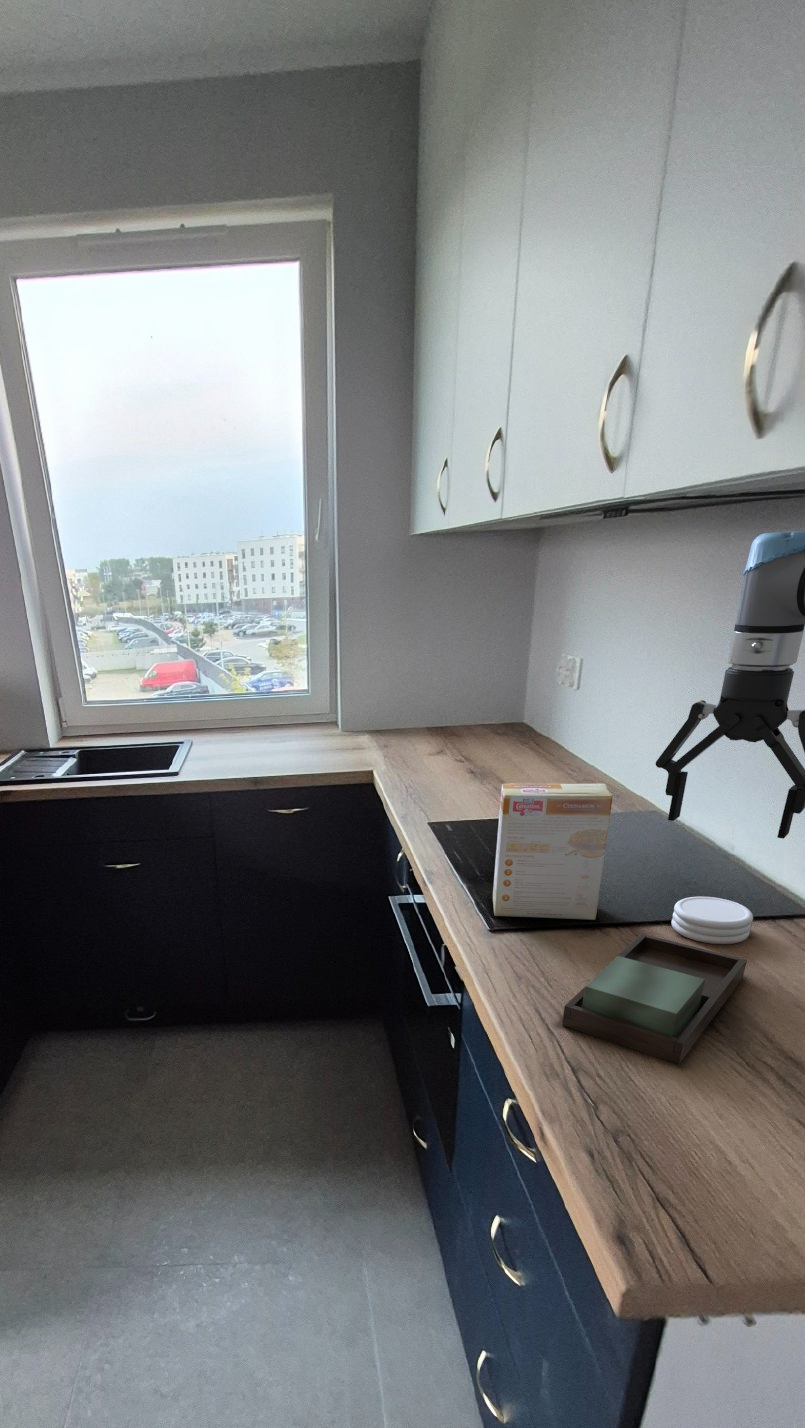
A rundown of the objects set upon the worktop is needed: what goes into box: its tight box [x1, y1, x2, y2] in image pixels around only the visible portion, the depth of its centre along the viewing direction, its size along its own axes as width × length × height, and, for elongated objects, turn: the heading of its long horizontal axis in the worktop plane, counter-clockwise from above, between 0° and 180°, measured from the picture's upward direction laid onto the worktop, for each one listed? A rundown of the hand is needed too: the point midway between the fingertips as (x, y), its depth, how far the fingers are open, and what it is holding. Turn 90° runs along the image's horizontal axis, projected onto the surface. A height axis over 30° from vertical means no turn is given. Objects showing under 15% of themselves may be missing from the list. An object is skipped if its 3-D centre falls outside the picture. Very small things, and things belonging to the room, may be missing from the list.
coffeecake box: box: [492, 783, 614, 921], centre depth 121 cm, size 15×7×20 cm, turn 77°
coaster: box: [670, 896, 754, 945], centre depth 115 cm, size 10×10×4 cm
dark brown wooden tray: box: [561, 933, 748, 1065], centre depth 98 cm, size 13×25×5 cm, turn 137°
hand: (726, 826), depth 110 cm, fingers open, 13 cm apart
